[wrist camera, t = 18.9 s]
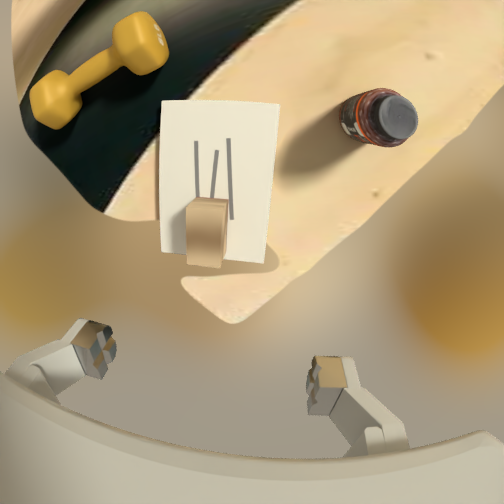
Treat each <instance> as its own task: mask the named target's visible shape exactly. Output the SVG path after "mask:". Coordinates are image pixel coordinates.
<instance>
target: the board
mask: <svg viewBox="0 0 504 504" xmlns="http://www.w3.org/2000/svg"><path fill="white" fill-rule="evenodd" d="M279 112H280V104H272V103H260V102H246V101H226V100H172V101H162V108H161V125H160V153H159V208H160V235H161V236H160V237H161V252H166V253H174V254H184V255H186V207H187V206H188V205H189V204H190V203H191V202H192V201H193V200H194V199H195V198H196V197H206V198H219V199H229V203H228V222H227V244H226V254H225V256H224V259H227V260H236V261H245V262H254V263H264V256H265V247H266V238H267V229H268V220H269V211H270V202H271V192H272V182H273V173H274V163H275V153H276V143H277V133H278V123H279Z"/></svg>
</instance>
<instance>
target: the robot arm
mask: <svg viewBox="0 0 504 504" xmlns="http://www.w3.org/2000/svg"><path fill="white" fill-rule="evenodd" d="M112 334H113V332H112V329H111V327H110V326H108V325H105V324H101V323H98V322H94V321H91V320H86V319H83V318H79V319H78V320H77V321H76V322H75V323H74V325H73V326H72V327H71V328H70V329H69V330H68V332H67V333H66V334H65V336H64V337H63V338H62V339H61V340H59V339H58V340H56V341H53V342H51V343H48V344H47V345H44V346H42V347H39V348H37V349H35V350H32V351H30V352H28V353H26V354H23V355H21V356H19V357H18V358H17V359H16V360H15V361H14V363H13V364H12V365H11V366H10V368H9V369H8V370H7V371H6V373H5V374H3V373H1V372H0V504H504V444H503V443H502V442H501V441H499V440H498V439H497V438H495V437H494V436H493V435H491V434H490V433H488V432H486V431H485V430H478V431H474V432H471V433H468V434H465V435H462V436H459V437H456V438H452V439H449V440H445V441H441V442H438V443H433V444H429V445H425V446H420V447H416V448H412V449H410V447H409V443H408V439H407V435H406V432H405V428H404V425H403V422H401V421H400V420H399V419H398V418H397V417H396V416H395V415H394V414H393V413H391V412H390V411H389V410H388V409H387V408H386V407H385V406H384V405H383V404H382V403H380V402H379V401H378V400H377V399H376V398H375V397H374V396H373V395H372V394H371V393H370V392H368V391H367V390H366V389H365V388H361V386H360V382H359V378H358V374H357V370H356V366H355V363H354V359H353V358H352V357H342V356H340V357H338V356H314V357H313V359H312V368H311V369H310V370H309V372H308V375H307V382H306V392H307V394H308V395H309V398H308V400H307V406H308V407H307V408H308V415H321V416H329V417H330V419H331V420H332V421H333V423H334V424H335V425H336V427H337V428H338V429H339V431H340V432H341V433H342V434H343V436H344V437H345V438H346V440H347V441H348V442H349V444H350V445H351V446H352V447H351V448H350V449H349V450H348V451H347V453H346V454H345V455H344V456H343V457H342V458H323V459H287V458H265V457H253V456H243V455H234V454H227V453H219V452H213V451H207V450H201V449H196V448H191V447H186V446H181V445H176V444H172V443H167V442H164V441H160V440H156V439H152V438H148V437H145V436H141V435H138V434H135V433H131V432H128V431H125V430H122V429H119V428H116V427H113V426H110V425H107V424H105V423H102V422H99V421H97V420H94V419H91V418H89V417H87V416H84V415H82V414H79V413H77V412H75V411H72V410H70V409H68V408H66V407H64V406H61V404H60V402H59V400H58V399H57V397H56V395H58V394H59V393H61V392H62V391H64V390H65V389H67V388H68V387H69V386H71V385H72V384H74V383H76V382H77V381H79V380H80V379H81V378H83V377H85V376H86V375H88V376H91V377H94V378H97V379H100V380H102V379H103V377H104V375H105V373H106V372H107V370H108V366H107V364H109V363H111V362H112V361H113V360H114V358H115V355H116V342H115V340H114V339H113V338H112V337H111V335H112Z"/></svg>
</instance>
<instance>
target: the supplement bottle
mask: <svg viewBox="0 0 504 504" xmlns="http://www.w3.org/2000/svg"><path fill="white" fill-rule="evenodd" d="M339 119H340V123H341V126H342V128H343V130H344V131H345V132H346V134H347V135H348V136H350V137H351V138H353V139H355V140H357V141H359V142H363V143H368V144H373V145H377V146H382V147H395V146H398V145H401V144H402V143H404V142H405V141H406V140H407V139H408V138H409V137H410V136H411V135H413V134H414V132H415V131H416V129H417V125H418V116H417V112H416V110H415V108H414V106H413V105H412V103H411V102H410V101H409V100H407V99H406V98H404V97H403V96H401V95H400V94H399V93H397V92H395V91H393V90H391V89H386V88H378V89H374V90H370V91H367V92H364V93H361V94H358V95H355V96H353V97H351V98H349V99H347V100H346V101H345V102H344V103H343V105H342V107H341V109H340V114H339Z"/></svg>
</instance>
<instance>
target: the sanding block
mask: <svg viewBox="0 0 504 504" xmlns="http://www.w3.org/2000/svg"><path fill="white" fill-rule="evenodd" d="M228 203H229V199H219V198H206V197H196V198H195V199H194V200H193V201H192V202H191V203H190V204H189V205H188V206H187V207H186V255H187V265H196V266H204V267H213V268H220V267H221V264H222V262H223V259H224V256H225V254H226V244H227V222H228Z"/></svg>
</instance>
